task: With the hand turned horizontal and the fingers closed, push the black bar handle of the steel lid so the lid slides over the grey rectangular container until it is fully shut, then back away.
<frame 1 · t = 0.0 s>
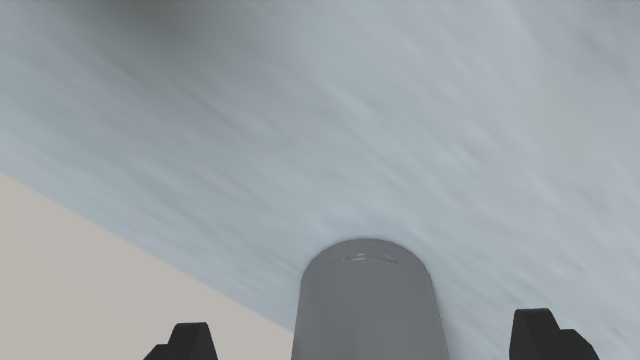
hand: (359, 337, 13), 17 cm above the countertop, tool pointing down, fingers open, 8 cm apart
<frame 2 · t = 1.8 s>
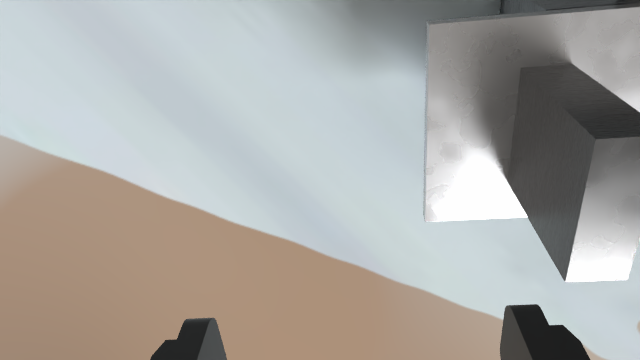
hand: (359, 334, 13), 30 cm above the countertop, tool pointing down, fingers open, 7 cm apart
lid: (565, 159, 27), point 15 cm above the countertop, slide at 7.0 cm
grey rectangular container: (582, 69, 39), on the countertop
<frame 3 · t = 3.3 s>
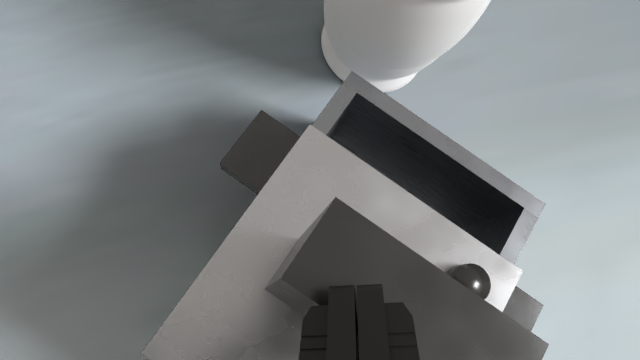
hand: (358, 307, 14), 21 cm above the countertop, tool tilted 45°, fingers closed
lid: (370, 310, 20), point 15 cm above the countertop, slide at 4.9 cm
jar: (370, 49, 40), on the countertop
grey rectangular container: (352, 250, 35), on the countertop
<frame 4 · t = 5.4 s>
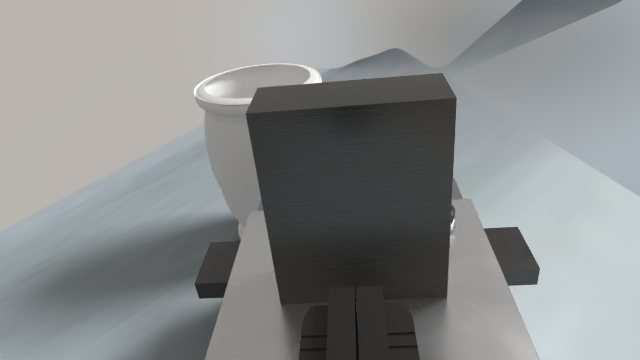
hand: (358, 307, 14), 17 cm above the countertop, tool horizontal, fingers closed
lid: (356, 205, 22), point 15 cm above the countertop, slide at 4.8 cm
jar: (282, 229, 47), on the countertop
grey rectangular container: (367, 345, 34), on the countertop
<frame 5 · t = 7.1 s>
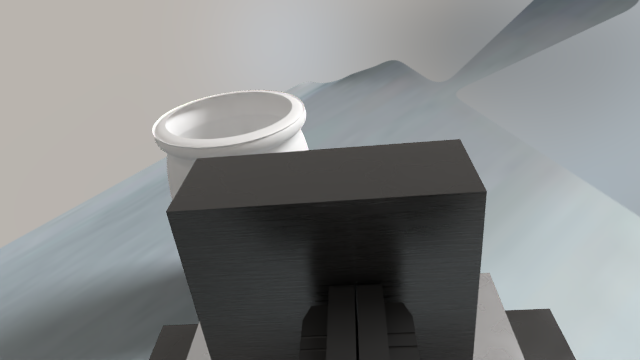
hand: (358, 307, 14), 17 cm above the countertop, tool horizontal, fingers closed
lid: (339, 318, 16), point 15 cm above the countertop, slide at 4.6 cm, touching gripper
jar: (263, 280, 41), on the countertop
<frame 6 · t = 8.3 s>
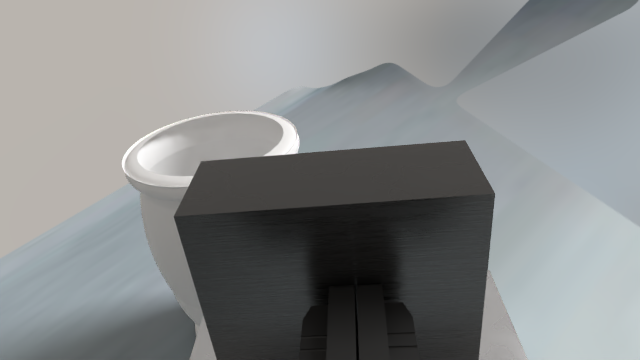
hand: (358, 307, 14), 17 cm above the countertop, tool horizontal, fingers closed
lid: (345, 319, 16), point 15 cm above the countertop, slide at -0.1 cm, touching gripper
jar: (253, 320, 37), on the countertop
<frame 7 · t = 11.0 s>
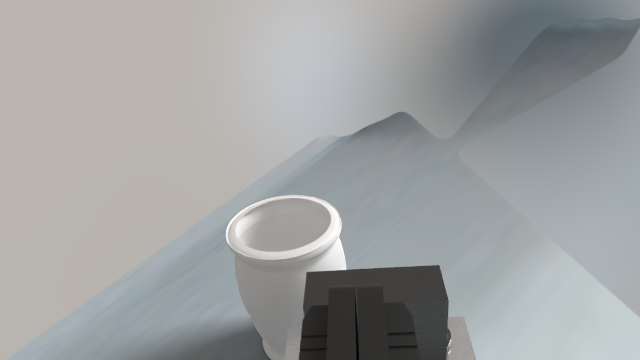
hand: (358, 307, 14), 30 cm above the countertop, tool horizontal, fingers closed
lid: (377, 351, 31), point 15 cm above the countertop, slide at 0.0 cm
jar: (303, 339, 51), on the countertop
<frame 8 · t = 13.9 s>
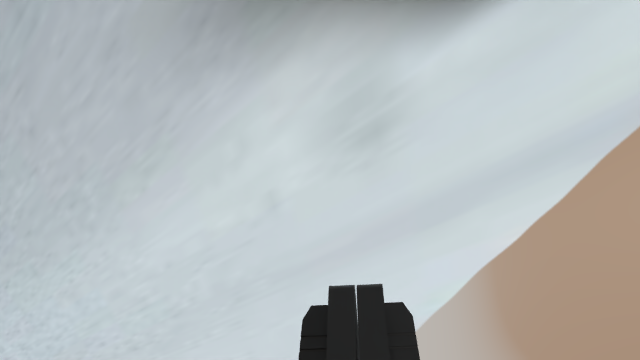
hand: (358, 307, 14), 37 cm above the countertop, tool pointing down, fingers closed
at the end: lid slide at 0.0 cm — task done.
